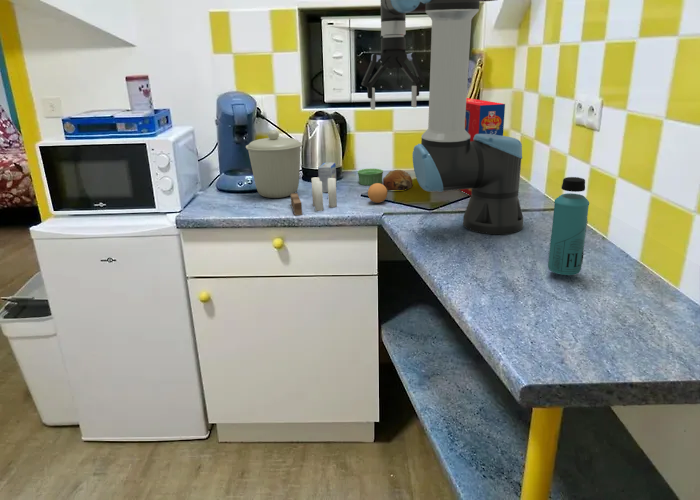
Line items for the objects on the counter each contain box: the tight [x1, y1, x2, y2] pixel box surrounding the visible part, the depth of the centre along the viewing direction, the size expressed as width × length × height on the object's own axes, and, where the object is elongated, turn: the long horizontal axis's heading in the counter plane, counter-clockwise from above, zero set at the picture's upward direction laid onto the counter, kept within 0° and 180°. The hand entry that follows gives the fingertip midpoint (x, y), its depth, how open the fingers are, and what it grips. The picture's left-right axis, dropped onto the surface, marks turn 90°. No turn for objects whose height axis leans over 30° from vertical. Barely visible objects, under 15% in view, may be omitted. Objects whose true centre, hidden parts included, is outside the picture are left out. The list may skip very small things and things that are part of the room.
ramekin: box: [357, 168, 384, 187], centre depth 187 cm, size 9×9×4 cm
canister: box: [245, 129, 303, 199], centre depth 172 cm, size 18×18×21 cm
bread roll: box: [382, 169, 413, 191], centre depth 179 cm, size 10×10×8 cm
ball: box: [367, 183, 388, 204], centre depth 162 cm, size 6×6×6 cm
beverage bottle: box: [547, 176, 590, 276], centre depth 103 cm, size 6×7×20 cm
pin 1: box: [310, 176, 320, 207], centre depth 160 cm, size 2×2×8 cm
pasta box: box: [460, 97, 506, 196], centre depth 172 cm, size 28×8×28 cm, turn 14°
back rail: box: [290, 192, 303, 216], centre depth 158 cm, size 12×2×4 cm, turn 11°
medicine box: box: [317, 161, 338, 193], centre depth 178 cm, size 8×4×9 cm, turn 170°
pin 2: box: [314, 181, 324, 212], centre depth 156 cm, size 2×2×8 cm
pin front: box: [327, 177, 338, 209], centre depth 159 cm, size 2×2×8 cm
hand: (393, 108), depth 170 cm, fingers open, 13 cm apart
